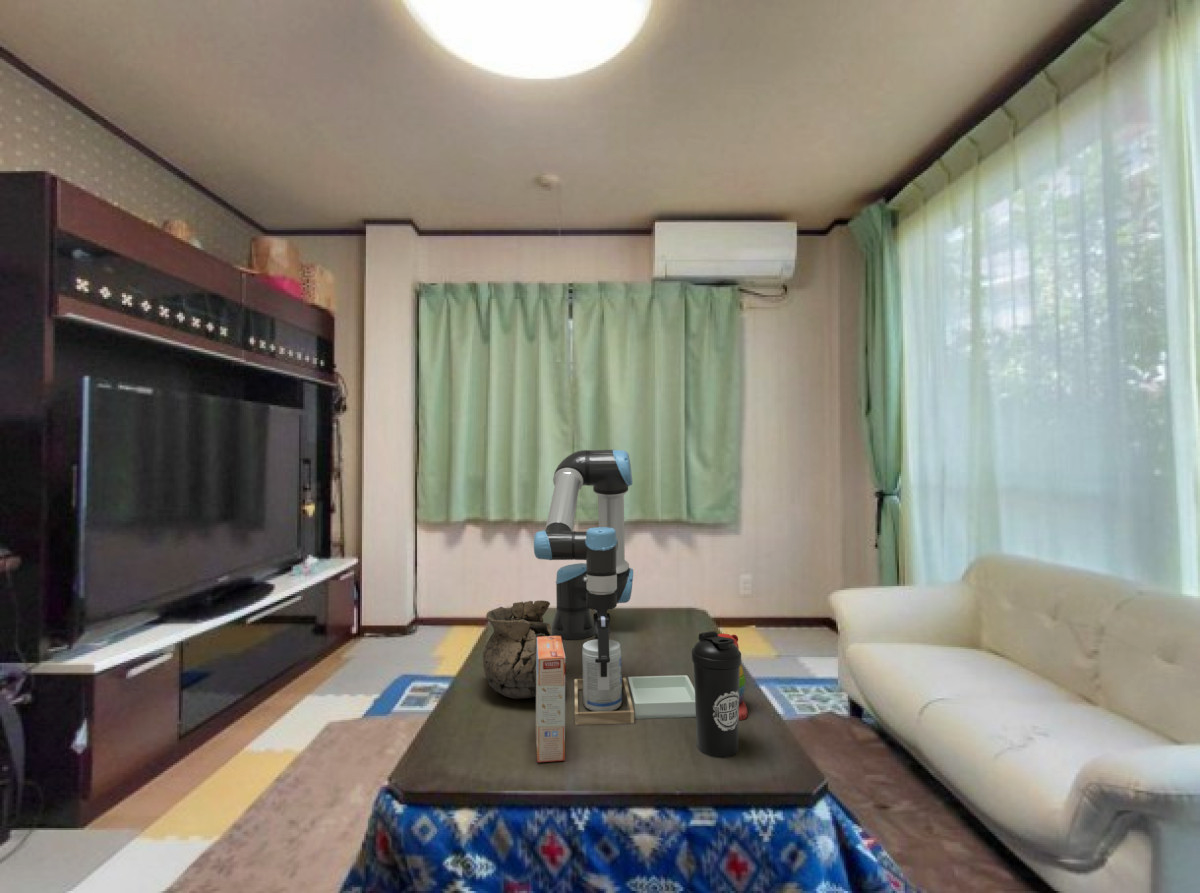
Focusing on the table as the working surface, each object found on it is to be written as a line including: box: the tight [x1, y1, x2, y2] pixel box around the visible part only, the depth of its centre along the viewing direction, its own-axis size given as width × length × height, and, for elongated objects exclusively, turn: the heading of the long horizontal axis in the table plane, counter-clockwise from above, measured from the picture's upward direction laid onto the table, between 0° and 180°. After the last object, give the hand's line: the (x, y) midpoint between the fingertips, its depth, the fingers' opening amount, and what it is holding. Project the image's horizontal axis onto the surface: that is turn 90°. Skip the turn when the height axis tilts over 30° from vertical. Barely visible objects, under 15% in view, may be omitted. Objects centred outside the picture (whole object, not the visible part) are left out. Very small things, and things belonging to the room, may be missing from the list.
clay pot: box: [482, 599, 569, 700], centre depth 142 cm, size 25×24×22 cm
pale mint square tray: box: [627, 674, 696, 720], centre depth 135 cm, size 16×16×4 cm
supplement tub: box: [581, 638, 623, 712], centre depth 134 cm, size 10×10×15 cm
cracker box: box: [535, 635, 566, 763], centre depth 116 cm, size 14×6×21 cm, turn 7°
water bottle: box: [691, 630, 742, 759], centre depth 115 cm, size 10×10×23 cm
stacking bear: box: [717, 632, 748, 721], centre depth 132 cm, size 11×10×18 cm
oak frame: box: [573, 677, 635, 726], centre depth 134 cm, size 20×14×2 cm
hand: (602, 678), depth 134 cm, fingers open, 13 cm apart
